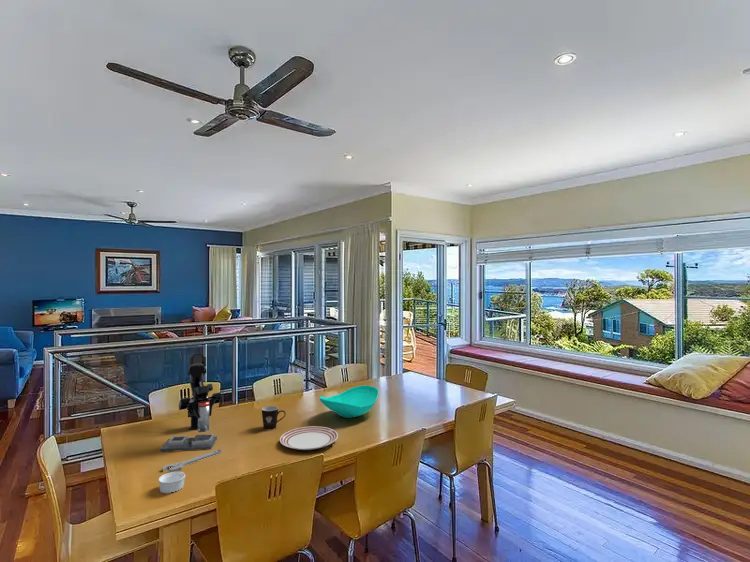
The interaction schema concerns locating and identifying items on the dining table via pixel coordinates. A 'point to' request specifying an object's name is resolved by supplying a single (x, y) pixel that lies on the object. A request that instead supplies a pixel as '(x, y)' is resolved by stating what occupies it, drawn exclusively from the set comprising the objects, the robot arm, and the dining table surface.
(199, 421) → the silver and red cylinder
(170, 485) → the ramekin
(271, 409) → the coffee mug
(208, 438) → the fitting board
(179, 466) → the adjustable wrench
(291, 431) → the dinner plate
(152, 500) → the dining table surface
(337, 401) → the table top decor
